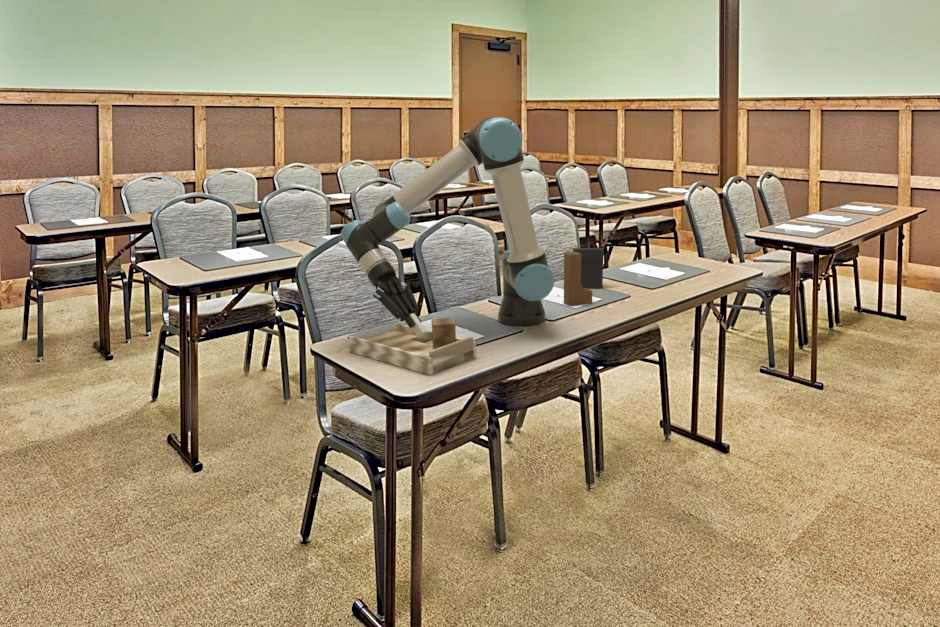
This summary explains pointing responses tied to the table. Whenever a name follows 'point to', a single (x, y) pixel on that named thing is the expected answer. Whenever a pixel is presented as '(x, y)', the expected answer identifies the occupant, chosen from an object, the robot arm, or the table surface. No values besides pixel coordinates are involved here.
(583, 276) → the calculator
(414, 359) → the box
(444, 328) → the walnut block
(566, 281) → the wooden block
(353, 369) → the table surface
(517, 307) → the robot arm
